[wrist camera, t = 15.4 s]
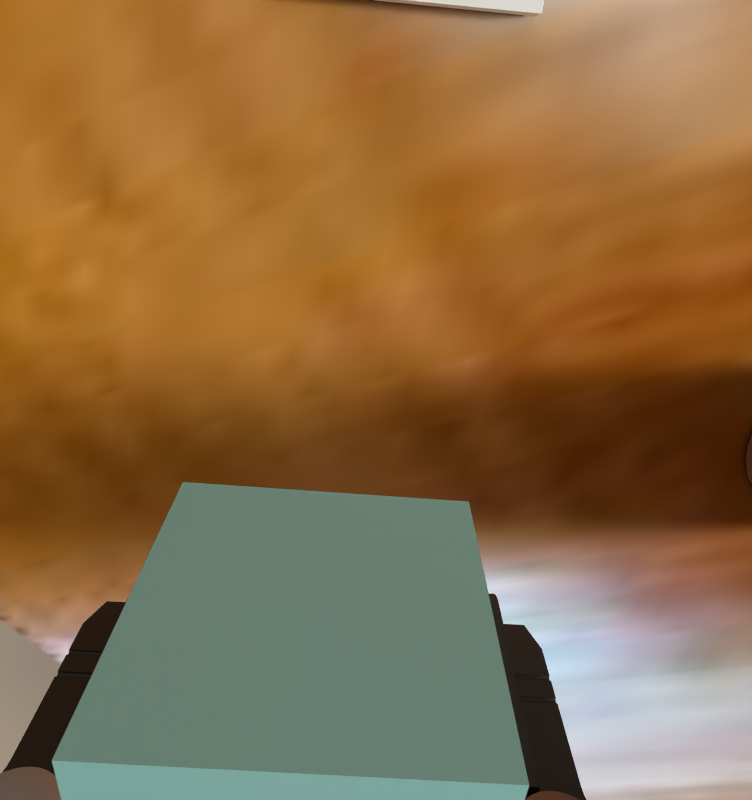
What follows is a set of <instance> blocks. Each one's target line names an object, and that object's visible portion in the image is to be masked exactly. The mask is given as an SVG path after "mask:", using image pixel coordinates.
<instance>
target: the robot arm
mask: <svg viewBox="0 0 752 800" xmlns="http://www.w3.org/2000/svg"><path fill="white" fill-rule="evenodd" d="M746 468H747V474H748V478H749V480H750V482H751V484H752V435H751V438H750V441H749V443H748V446H747V454H746ZM135 583H136V582H135ZM134 585H135V584H134ZM489 599H490V603H491V608H492V613H493V617H494V622H495V627H496V631H497V636H498V641H499V646H500V650H501V655H502V660H503V664H504V669H505V674H506V678H507V683H508V688H509V692H510V697H511V702H512V707H513V711H514V716H515V721H516V725H517V730H518V735H519V739H520V744H521V749H522V753H523V758H524V763H525V768H526V772H527V777H528V782H529V788H528V791H527V794H526V797H525V800H586V798H585V796H584V794H583V791H582V788H581V785H580V782H579V778H578V775H577V771H576V768H575V764H574V761H573V757H572V754H571V750H570V747H569V743H568V740H567V736H566V732H565V729H564V725H563V722H562V718H561V715H560V711H559V708H558V704H557V703H556V702H555V698H556V697H555V694H554V690H553V687H552V683H551V681H549V673H548V669H547V666H546V662H545V659H544V655H543V652H542V649H541V647H540V646H539V645H538V643H537V642H536V641H535V639H534V638H533V637H532V635H531V634H530V633H529V631H528V630H527V629H526V627H525V626H524V625H511V624H503V621H502V616H501V612H500V608H499V603H498V599H497V597H496V595H495V594H489ZM127 600H128V599H127ZM126 602H127V601H126ZM126 602H109V601H107V602H106V603H105V604H104V605H103V606H101V607H100V608H99V609H98V610H97V611H96V612H95V613H94V614H93V615H92V616H91V617H89V618H88V619H87V620H86V621H85V622H84V623H83V625H82V627H81V628H80V630H79V632H78V634H77V636H76V638H75V640H74V642H73V644H72V645H71V647H70V649H69V654H68V655H66V657H65V659H64V660H63V662H62V664H61V666H60V668H59V670H58V675H57V677H54V680H53V681H52V683H51V685H50V687H49V689H48V691H47V693H46V694H45V696H44V698H43V700H42V702H41V704H40V706H39V708H38V710H37V712H36V713H35V715H34V717H33V719H32V721H31V723H30V725H29V726H28V729H27V730H26V732H25V734H24V736H23V738H22V740H21V742H20V743H19V745H18V747H17V749H16V751H15V753H14V755H13V757H12V759H11V760H10V762H9V763H8V765H7V767H6V768H5V770H4V771H3V772H2V773H0V800H61V797H60V793H59V788H58V784H57V780H56V776H55V772H54V768H53V764H52V759H53V757H54V755H55V753H56V750H57V748H58V746H59V744H60V742H61V740H62V738H63V736H64V733H65V731H66V729H67V727H68V725H69V723H70V721H71V719H72V716H73V714H74V712H75V710H76V708H77V706H78V704H79V702H80V699H81V697H82V695H83V693H84V691H85V689H86V687H87V685H88V682H89V680H90V678H91V676H92V674H93V672H94V670H95V668H96V665H97V663H98V661H99V659H100V657H101V655H102V653H103V651H104V648H105V646H106V644H107V642H108V640H109V638H110V636H111V634H112V631H113V629H114V627H115V625H116V623H117V621H118V619H119V617H120V614H121V612H122V610H123V608H124V606H125V604H126Z"/></svg>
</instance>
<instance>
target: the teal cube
mask: <svg viewBox="0 0 752 800" xmlns="http://www.w3.org/2000/svg"><path fill="white" fill-rule="evenodd" d="M52 764H53V768H54V772H55V776H56V780H57V784H58V788H59V793H60V797H61V800H525V797H526V794H527V791H528V788H529V782H528V777H527V772H526V768H525V763H524V758H523V753H522V749H521V744H520V739H519V735H518V730H517V725H516V721H515V716H514V711H513V707H512V702H511V697H510V692H509V688H508V683H507V678H506V674H505V669H504V664H503V660H502V655H501V650H500V646H499V641H498V636H497V631H496V627H495V622H494V617H493V613H492V608H491V603H490V599H489V594H488V589H487V585H486V580H485V575H484V570H483V566H482V561H481V556H480V552H479V547H478V542H477V538H476V533H475V528H474V523H473V519H472V514H471V509H470V505H469V501H454V500H439V499H425V498H410V497H396V496H381V495H366V494H352V493H337V492H322V491H308V490H293V489H278V488H264V487H249V486H235V485H220V484H205V483H191V482H183V483H182V485H181V487H180V489H179V491H178V493H177V495H176V498H175V500H174V502H173V504H172V506H171V508H170V510H169V512H168V515H167V517H166V519H165V521H164V523H163V525H162V527H161V529H160V532H159V534H158V536H157V538H156V540H155V542H154V544H153V546H152V549H151V551H150V553H149V555H148V557H147V559H146V561H145V563H144V566H143V568H142V570H141V572H140V574H139V576H138V578H137V580H136V583H135V585H134V587H133V589H132V591H131V593H130V595H129V597H128V600H127V602H126V604H125V606H124V608H123V610H122V612H121V614H120V617H119V619H118V621H117V623H116V625H115V627H114V629H113V631H112V634H111V636H110V638H109V640H108V642H107V644H106V646H105V648H104V651H103V653H102V655H101V657H100V659H99V661H98V663H97V665H96V668H95V670H94V672H93V674H92V676H91V678H90V680H89V682H88V685H87V687H86V689H85V691H84V693H83V695H82V697H81V699H80V702H79V704H78V706H77V708H76V710H75V712H74V714H73V716H72V719H71V721H70V723H69V725H68V727H67V729H66V731H65V733H64V736H63V738H62V740H61V742H60V744H59V746H58V748H57V750H56V753H55V755H54V757H53V759H52Z"/></svg>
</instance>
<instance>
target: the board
mask: <svg viewBox="0 0 752 800" xmlns="http://www.w3.org/2000/svg"><path fill="white" fill-rule="evenodd" d="M376 1H386V2H396V3H406V4H416V5H426V6H436V7H446V8H456V9H466V10H476V11H487V12H497V13H507V14H517V15H527V16H537V15H539V14H542V9H543V3H544V0H376Z"/></svg>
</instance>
